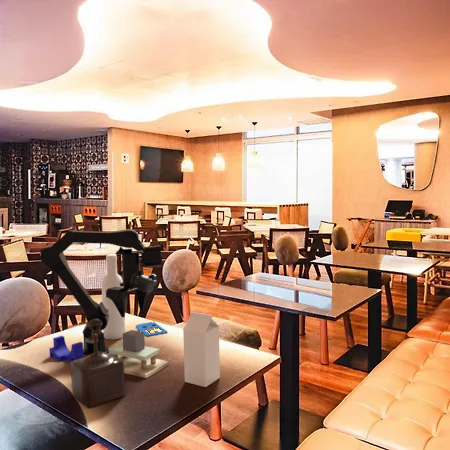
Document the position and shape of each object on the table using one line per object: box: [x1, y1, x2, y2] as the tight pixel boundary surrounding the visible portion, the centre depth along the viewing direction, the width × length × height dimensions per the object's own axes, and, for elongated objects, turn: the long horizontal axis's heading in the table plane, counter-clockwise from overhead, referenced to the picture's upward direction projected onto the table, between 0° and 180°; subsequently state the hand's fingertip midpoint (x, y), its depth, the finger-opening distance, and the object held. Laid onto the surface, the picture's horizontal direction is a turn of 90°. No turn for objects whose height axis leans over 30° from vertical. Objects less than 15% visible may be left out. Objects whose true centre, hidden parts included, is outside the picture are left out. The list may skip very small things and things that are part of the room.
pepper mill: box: [69, 319, 126, 409], centre depth 119 cm, size 16×11×18 cm
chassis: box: [113, 354, 170, 379], centre depth 137 cm, size 18×11×4 cm, turn 61°
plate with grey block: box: [108, 329, 161, 361], centre depth 137 cm, size 7×14×6 cm, turn 61°
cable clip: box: [48, 335, 84, 363], centre depth 144 cm, size 12×4×6 cm, turn 51°
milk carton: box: [182, 311, 221, 388], centre depth 125 cm, size 7×7×19 cm
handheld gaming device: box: [135, 321, 168, 338], centre depth 173 cm, size 8×1×15 cm
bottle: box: [101, 253, 127, 340], centre depth 164 cm, size 8×8×30 cm
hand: (132, 313), depth 151 cm, fingers open, 9 cm apart
